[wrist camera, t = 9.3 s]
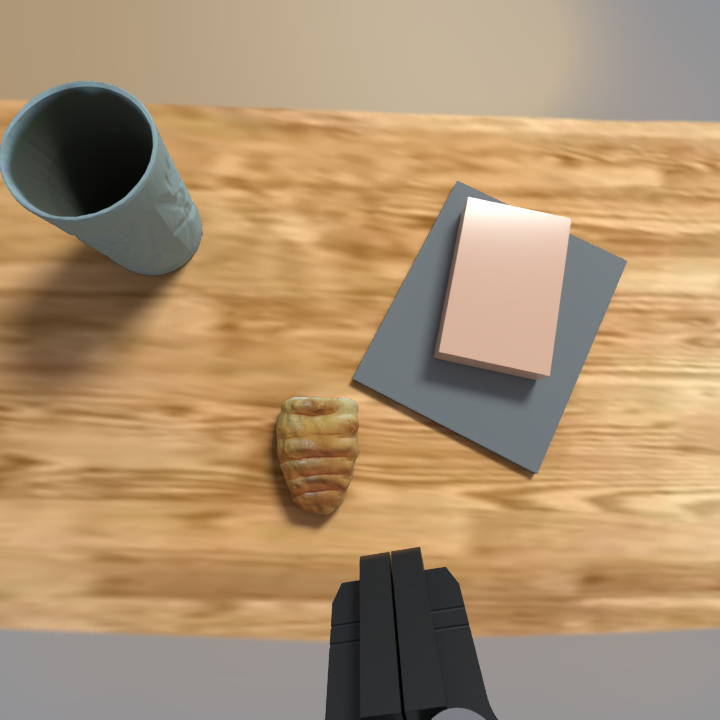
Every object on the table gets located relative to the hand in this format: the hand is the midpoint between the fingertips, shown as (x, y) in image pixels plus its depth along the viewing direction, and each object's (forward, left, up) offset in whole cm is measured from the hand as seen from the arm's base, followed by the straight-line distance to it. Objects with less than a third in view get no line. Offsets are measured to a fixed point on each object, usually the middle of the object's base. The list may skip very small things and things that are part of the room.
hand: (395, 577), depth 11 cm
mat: (+4, +18, -26) cm, 32 cm away
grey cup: (-27, +11, -26) cm, 39 cm away
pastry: (-5, +2, -27) cm, 27 cm away
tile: (+5, +14, -24) cm, 28 cm away
